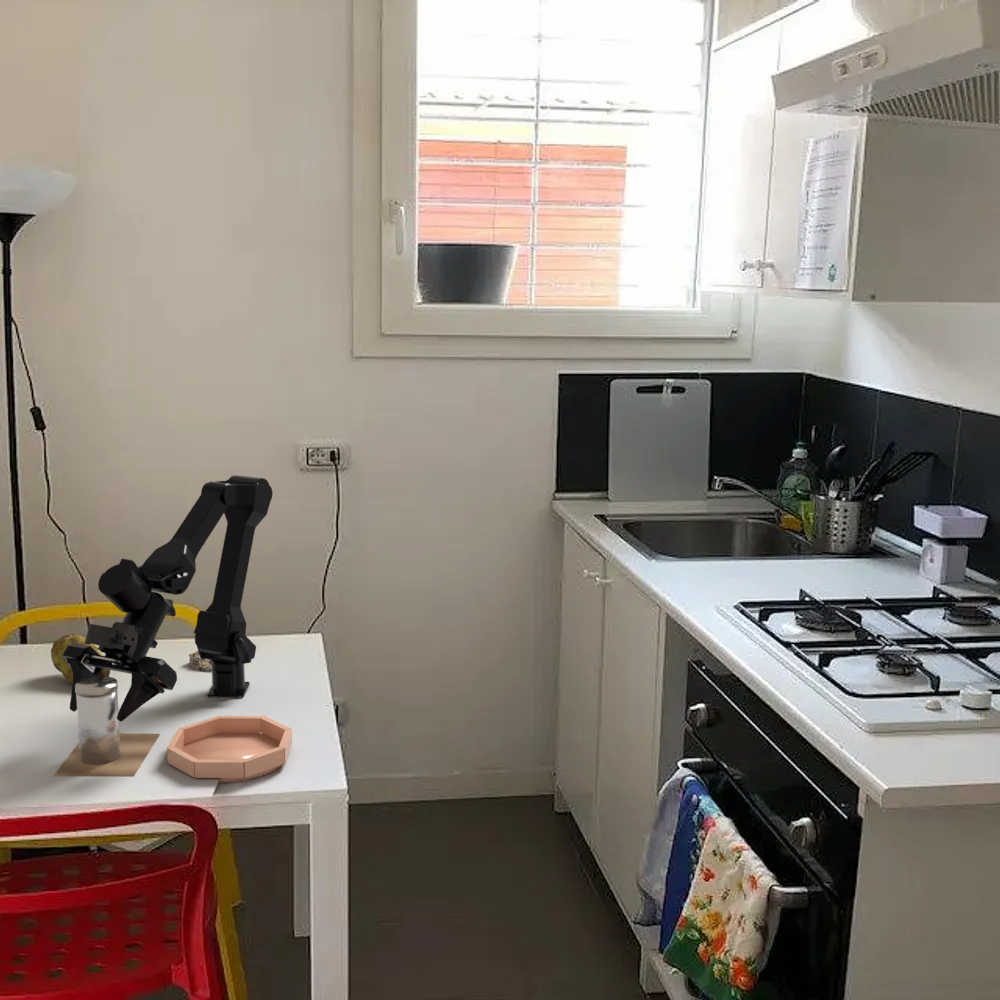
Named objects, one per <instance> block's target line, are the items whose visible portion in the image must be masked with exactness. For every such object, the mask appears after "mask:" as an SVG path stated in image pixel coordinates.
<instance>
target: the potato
mask: <svg viewBox="0 0 1000 1000" xmlns="http://www.w3.org/2000/svg"><path fill="white" fill-rule="evenodd" d="M85 639H86V637H84V636H82V635H80V634H79V635H78V634H75V633H72V634H71V633H69V634H65V635H63V636H62V637H60V638H57V639H56V640H55V641H54V642H53V644H52V646H51V649H50V657H51V661H52V663H53V667H54V668H55V669H56V670H57V671H58V672H60V673H61V674H62V675H63V678H64V679H65V681H67V682H68V683H70V684H71V685H73V672H72V669H71V667H70V666H69V665H67V661H66V660H65V659H64V658H63V657H62V655H63V653H64V651H65V649H66V648H67V646H68V645H70V644H73V643H76V644H81V645H87V646H90V647H92V648H93V649H94V650H95V651H96V652H97V653H98V654H100V655H101V656H104V655H103V654H102V652H101V651H100V650H99V649H98V647H97V645H95V644H90V645H88V644H85ZM110 674H111V670H108V669H103V671H102V672H101V673H100V674H98V675H96V676H97V677H100V676H104V677H110Z"/></svg>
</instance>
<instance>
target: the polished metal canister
mask: <svg viewBox="0 0 1000 1000" xmlns="http://www.w3.org/2000/svg"><path fill="white" fill-rule="evenodd" d="M118 689H119V686H118V679H116V678H114V677H111V676H109V677H104V676H100V677H91V678H86V679H83V680H80V681H79V682H77V683H76V684H75V693H76V698H77V710H76V712H77V727H78V743H79V745H80V760H81V761H82V762H83V763H86V764H91V765H99V764H106V763H110V762H113V761H115V760H117V759H118V758H119V757H120V756H121V748H120V721H119V720H117V716H118V713H119V701H118V700H119V697H118Z"/></svg>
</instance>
